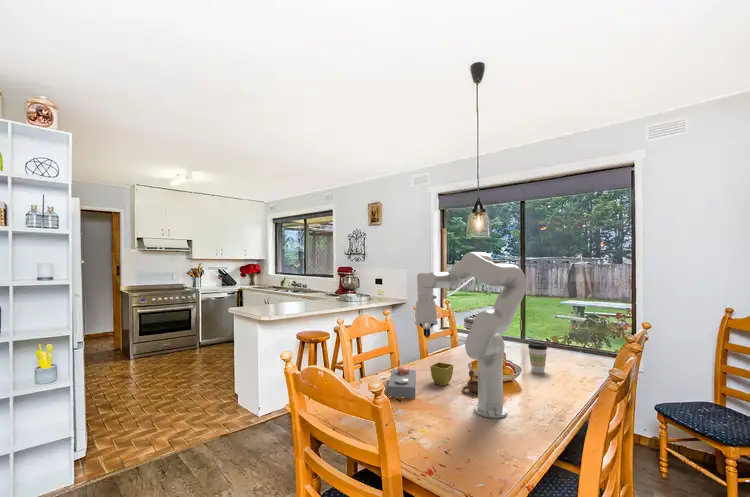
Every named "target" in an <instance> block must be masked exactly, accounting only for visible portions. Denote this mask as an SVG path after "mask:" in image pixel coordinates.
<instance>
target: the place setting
mask: <svg viewBox="0 0 750 497" xmlns="http://www.w3.org/2000/svg"><path fill="white" fill-rule="evenodd" d="M468 375H469V376H468V377H469V378H470V380H469V381H468V382H467V385H466V386H463V387H462V389H461V390H462V393H463V394H464V393H465V395H466V394H467V395H466V396H469V395H470V397H473V396H475V398H478V380H473V378H474V376H475V372H474V371H473V370H469V371H468ZM465 389H466V390H468V391H469V392H467V391H465ZM471 392H472V393H471ZM473 393H474V394H473Z"/></svg>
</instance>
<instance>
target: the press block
mask: <svg viewBox="0 0 750 497" xmlns="http://www.w3.org/2000/svg"><path fill="white" fill-rule="evenodd" d="M416 374H417V372H416V369H409V372H407V375H399V372H398V371H397V368H395V369H394V368H392V369H391V373H390V377H389V381H388V385H387V397H388V396H389V397H390V396H391V397H404V398H415V399H416V389H415V388H416V386H417V385H416V383H417V382H416V381H417V379H416V378H417V376H416ZM397 377H406V378H408V379H409V383H407V384H398V383H396V378H397ZM404 398H403V399H404Z"/></svg>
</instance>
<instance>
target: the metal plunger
mask: <svg viewBox="0 0 750 497" xmlns="http://www.w3.org/2000/svg"><path fill="white" fill-rule="evenodd" d="M396 383H398V384H407V383H409V379H408V378H406V377H397V378H396Z"/></svg>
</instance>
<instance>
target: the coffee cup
mask: <svg viewBox="0 0 750 497" xmlns="http://www.w3.org/2000/svg"><path fill="white" fill-rule="evenodd" d="M527 348H528V353H529V361H530V366H531V372H533V373H534V374H544V373H545V367H546V360H547V350H548V347H547V345H546V344H545V343H543V342H529V343H528V345H527Z"/></svg>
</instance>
